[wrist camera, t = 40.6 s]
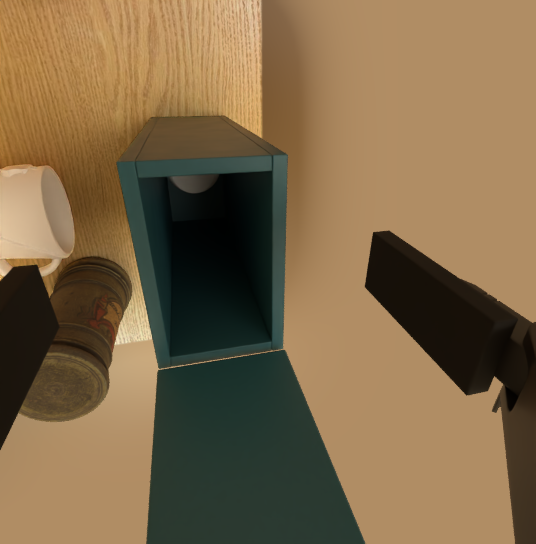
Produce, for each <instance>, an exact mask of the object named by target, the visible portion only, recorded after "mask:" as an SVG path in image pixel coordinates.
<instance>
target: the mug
mask: <svg viewBox="0 0 536 544" xmlns="http://www.w3.org/2000/svg"><path fill="white" fill-rule="evenodd" d="M74 244H75V231H74V222H73V217H72V212H71V208H70V204H69V200H68V197H67V194H66V192H65V189H64V187H63V184H62V182H61V180H60V178H59V176H58V175H57V173H56V172H55V171H54V169H53V168H52V167H50V166H48V165H44V166H39V167H35V166H32V165H31V164H24V165H13V166H6V167H4V168H2V169H0V274H1V275H2V276H4V277H5V276H6V274H7V273H8V272H9V271H10V270H11V269H12V268H13V266H11V265H10V264H9V263H8V262H7V261H6V260H5V259H38V258H51V259H52V262H51V263H50V264H48V265H46V266H43V267H40V268H39V271H40V274H41V276H42V277H44V276H46V275H48V274H50V273H52V272H53V271H54V270H55V269H56V268H57V267H58V265H59V264H60V262H61V261H62V258H68V257H69V256H70V254H71V253H72V252H73V249H74Z"/></svg>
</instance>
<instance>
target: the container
mask: <svg viewBox="0 0 536 544" xmlns="http://www.w3.org/2000/svg"><path fill="white" fill-rule="evenodd" d="M131 296H132V285H131V281H130V279H129V277H128V275H127V274H126V272H125V271H124V270H123V269H122V268H121V267H120V266H118V265H117V264H115V263H114V262H112V261H109V260H106V259H102V258H84V259H80V260H77V261H75V262H73V263H71V264H69V265H68V266H67V267H65V268H64V269H63V270H62V271H61V273H60V274H59V276H58V278H57V281H56V284H55V286H54V289H53V293H52V295H51V296H50V301H51V304H52V307H53V309H54V312H55V315H56V318H57V321H58V323H59V326H60V327H59V329H58V331H57V334H56V336H55V338H54V340H53V342H52V344H51V346H50V348H49V350H48V352H47V354H46V356H45V358H44V361H43V363H42V365H41V367H40V369H39V371H38V373H37V375H36V377H35V379H34V381H33V383H32V385H31V387H30V390H29V392H28V394H27V396H26V398H25V400H24V402H23V404H22V406H21V408H20V410H19V412H18V413H19V414H21V415H24V416H26V417H28V418H31V419H35V420H39V421H46V422H62V421H69V420H73V419H76V418H79V417H82V416H84V415H86V414H88V413H90V412H91V411H93V410H94V409H96V408H97V407H98V406H99V405H100V404H101V402H102V401H103V400H104V398H105V397H106V395H107V392H108V389H109V372H108V368H109V367H110V365H111V362H112V352H113V348H114V344H115V340H116V336H117V332H118V328H119V324H120V322H121V320H122V318H123V315H124V311H125V310H126V308H127V306H128V304H129V301H130V299H131Z"/></svg>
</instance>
